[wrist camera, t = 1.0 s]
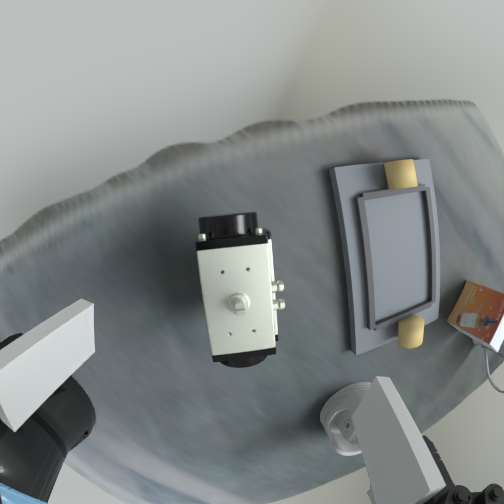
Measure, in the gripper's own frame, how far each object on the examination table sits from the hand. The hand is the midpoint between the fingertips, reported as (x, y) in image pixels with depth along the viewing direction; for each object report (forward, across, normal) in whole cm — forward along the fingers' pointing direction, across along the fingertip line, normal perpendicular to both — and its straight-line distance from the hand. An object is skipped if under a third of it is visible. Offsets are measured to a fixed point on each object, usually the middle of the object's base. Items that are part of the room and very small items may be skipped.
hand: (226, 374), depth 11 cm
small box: (+26, -37, 0) cm, 45 cm away
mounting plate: (+22, -17, -5) cm, 29 cm away
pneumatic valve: (+19, +2, +1) cm, 19 cm away
